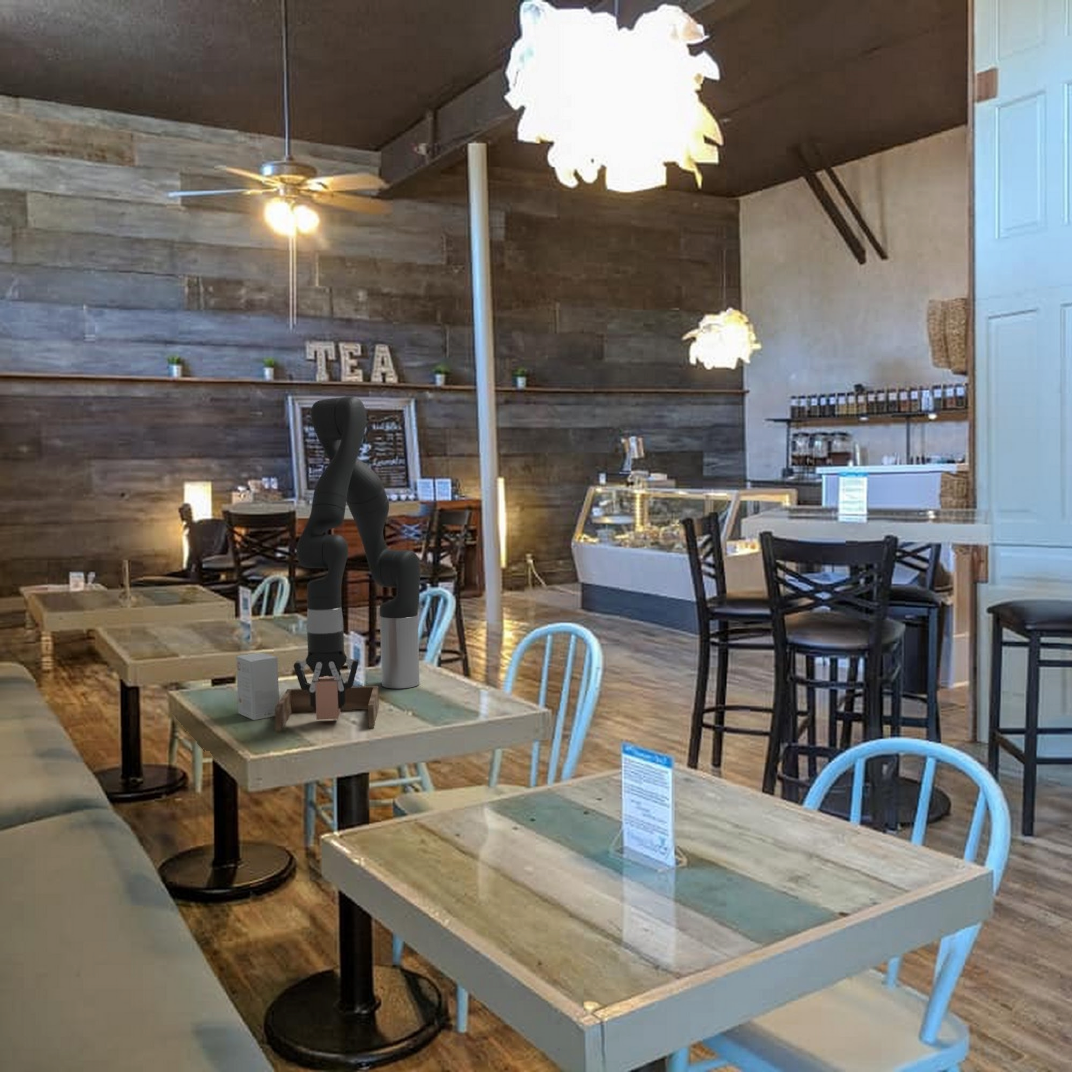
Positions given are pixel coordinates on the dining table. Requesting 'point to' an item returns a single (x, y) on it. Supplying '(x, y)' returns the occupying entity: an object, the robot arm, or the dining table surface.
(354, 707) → the u-shaped bracket
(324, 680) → the terracotta block
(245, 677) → the small box
